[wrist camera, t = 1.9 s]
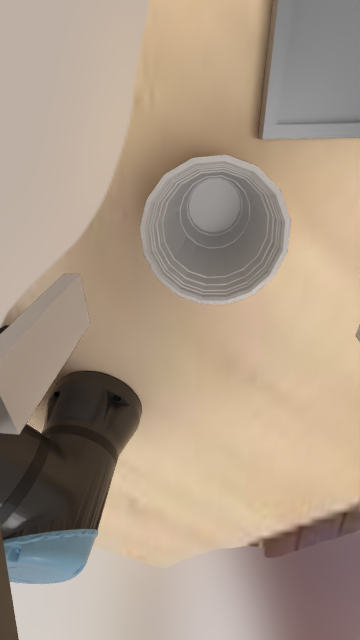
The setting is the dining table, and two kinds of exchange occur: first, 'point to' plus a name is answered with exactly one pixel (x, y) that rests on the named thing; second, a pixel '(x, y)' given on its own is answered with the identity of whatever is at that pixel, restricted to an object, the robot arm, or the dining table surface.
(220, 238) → the plastic cup
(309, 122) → the cup tray
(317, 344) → the dining table surface
